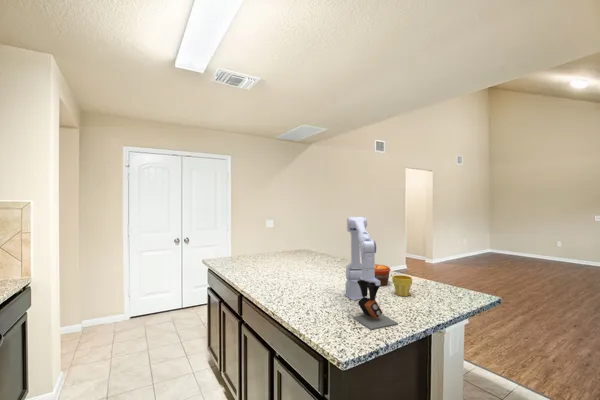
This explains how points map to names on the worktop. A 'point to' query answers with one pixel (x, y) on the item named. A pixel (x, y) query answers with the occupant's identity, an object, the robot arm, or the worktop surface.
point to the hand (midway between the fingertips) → (368, 298)
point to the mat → (375, 321)
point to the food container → (382, 274)
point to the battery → (370, 307)
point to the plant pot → (402, 284)
